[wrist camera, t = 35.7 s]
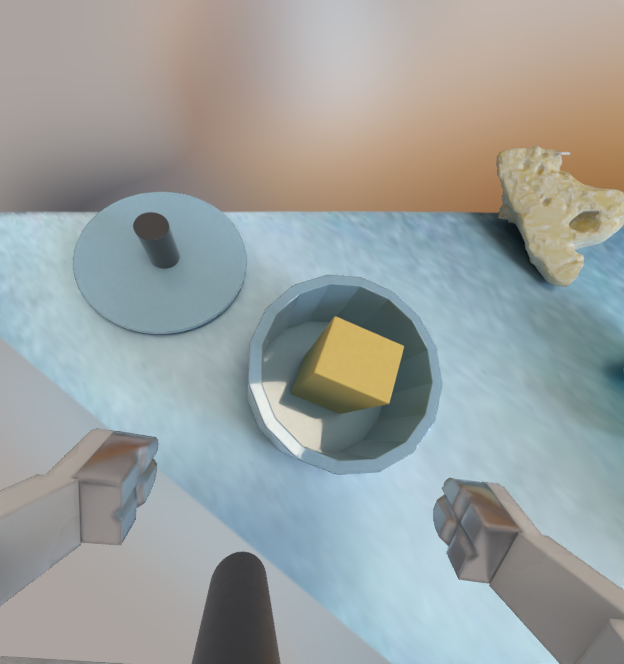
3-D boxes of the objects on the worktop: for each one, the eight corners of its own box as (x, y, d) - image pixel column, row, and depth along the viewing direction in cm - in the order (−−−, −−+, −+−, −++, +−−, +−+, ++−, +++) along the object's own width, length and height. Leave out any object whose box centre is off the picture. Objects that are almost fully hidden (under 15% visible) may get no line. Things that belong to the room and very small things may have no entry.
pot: (366, 485, 27) (417, 507, 19) (220, 427, 26) (210, 424, 18) (403, 348, 32) (456, 319, 24) (282, 295, 31) (295, 247, 23)
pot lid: (203, 362, 27) (193, 344, 22) (41, 294, 26) (-10, 259, 21) (269, 237, 33) (274, 199, 27) (137, 177, 32) (115, 126, 26)
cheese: (572, 279, 43) (614, 157, 38) (610, 291, 36) (668, 144, 31) (456, 272, 45) (480, 155, 40) (472, 281, 38) (503, 143, 33)
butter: (340, 414, 28) (389, 404, 18) (290, 393, 27) (313, 372, 18) (353, 374, 29) (404, 345, 20) (305, 353, 29) (334, 315, 20)
